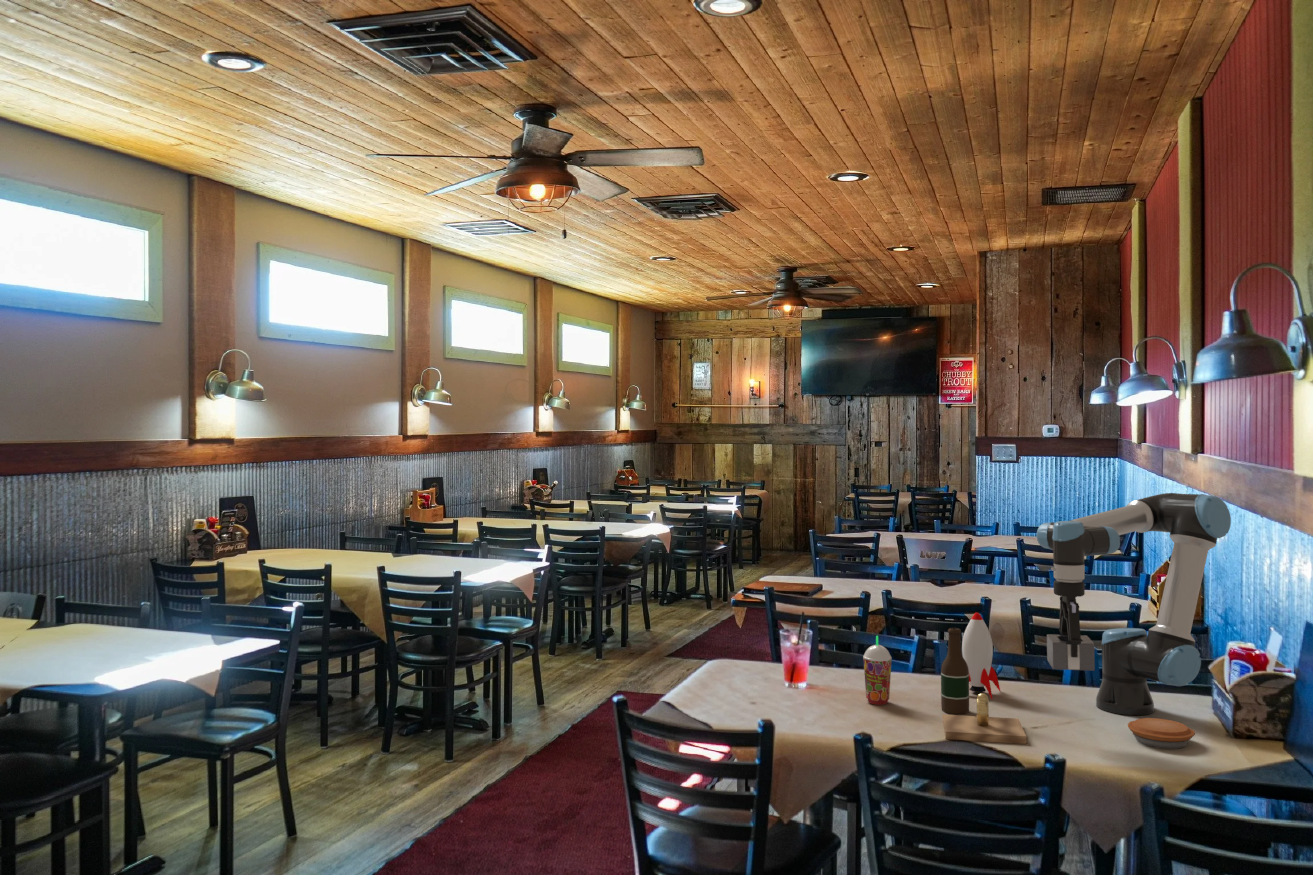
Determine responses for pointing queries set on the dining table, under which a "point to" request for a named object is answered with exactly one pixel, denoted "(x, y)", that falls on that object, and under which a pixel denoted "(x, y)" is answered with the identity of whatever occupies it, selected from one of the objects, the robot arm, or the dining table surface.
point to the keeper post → (982, 710)
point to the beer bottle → (954, 677)
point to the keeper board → (983, 729)
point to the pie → (1161, 733)
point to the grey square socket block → (1059, 652)
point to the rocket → (979, 655)
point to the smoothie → (877, 674)
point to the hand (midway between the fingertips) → (1070, 664)
